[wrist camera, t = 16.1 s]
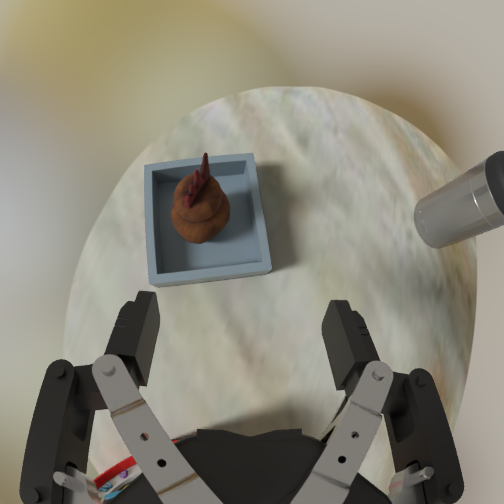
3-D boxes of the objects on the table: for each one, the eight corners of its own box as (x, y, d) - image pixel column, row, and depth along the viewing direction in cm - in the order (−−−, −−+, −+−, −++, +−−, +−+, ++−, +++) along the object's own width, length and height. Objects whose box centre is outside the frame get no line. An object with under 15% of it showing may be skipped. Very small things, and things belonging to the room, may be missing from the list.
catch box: (249, 170, 40) (253, 153, 35) (265, 274, 37) (272, 269, 33) (152, 181, 38) (144, 165, 33) (158, 287, 35) (149, 284, 31)
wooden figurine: (208, 193, 38) (205, 127, 23) (236, 224, 37) (248, 171, 23) (168, 224, 36) (140, 171, 22) (196, 257, 36) (181, 222, 21)
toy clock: (201, 421, 33) (190, 513, 13) (226, 451, 32) (236, 549, 12) (98, 467, 29) (42, 538, 9) (122, 494, 28) (82, 571, 8)
